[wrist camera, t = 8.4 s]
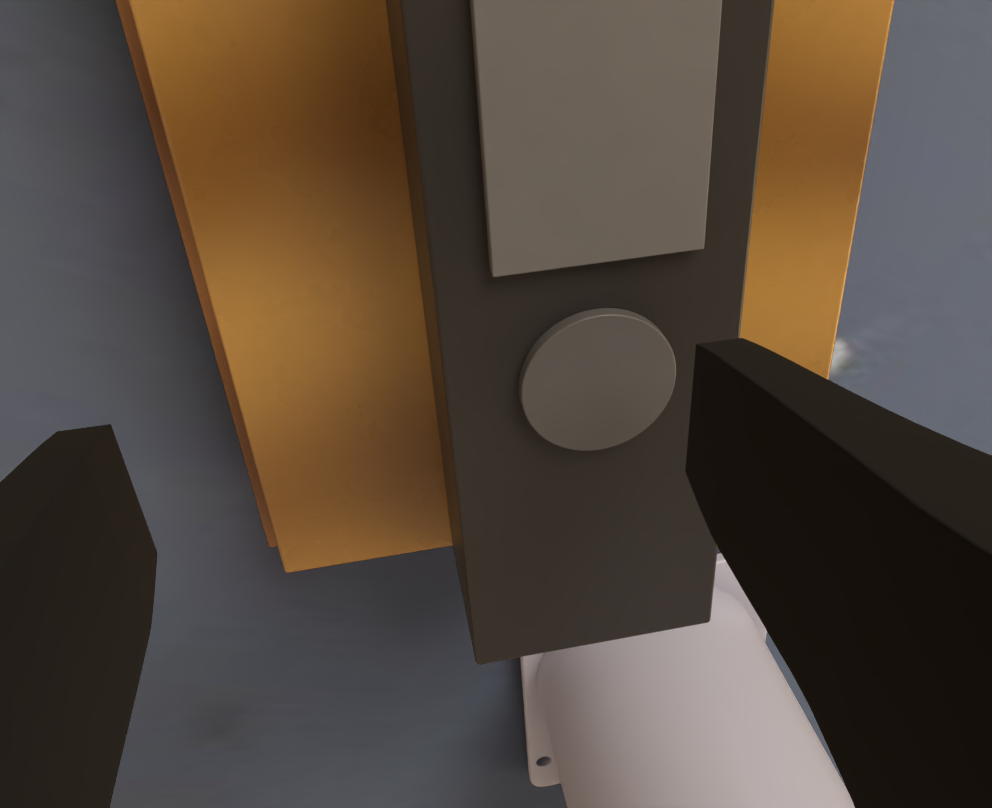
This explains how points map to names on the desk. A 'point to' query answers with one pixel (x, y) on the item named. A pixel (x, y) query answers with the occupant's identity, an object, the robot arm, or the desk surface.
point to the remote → (577, 292)
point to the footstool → (392, 249)
